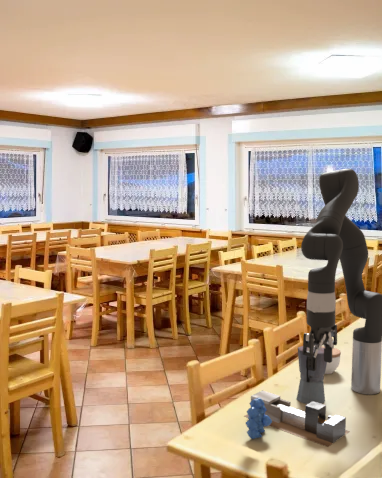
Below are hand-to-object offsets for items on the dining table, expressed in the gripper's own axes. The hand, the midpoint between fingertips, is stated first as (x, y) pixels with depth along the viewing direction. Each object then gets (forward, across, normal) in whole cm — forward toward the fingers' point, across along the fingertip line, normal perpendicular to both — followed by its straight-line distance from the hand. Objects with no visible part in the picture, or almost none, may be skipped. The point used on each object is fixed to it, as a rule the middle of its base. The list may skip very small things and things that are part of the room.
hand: (320, 366), depth 148 cm
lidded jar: (+20, -46, -24) cm, 56 cm away
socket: (+18, +2, +5) cm, 18 cm away
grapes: (+19, +15, -10) cm, 26 cm away
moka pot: (+20, -16, -12) cm, 28 cm away
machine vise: (+19, +2, -6) cm, 20 cm away
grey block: (+18, +2, -3) cm, 18 cm away
